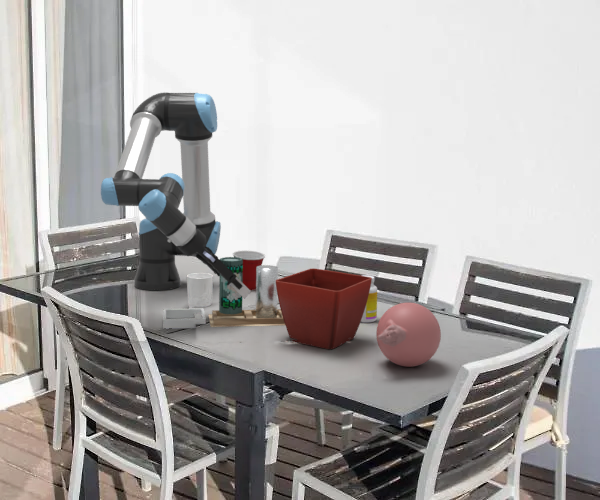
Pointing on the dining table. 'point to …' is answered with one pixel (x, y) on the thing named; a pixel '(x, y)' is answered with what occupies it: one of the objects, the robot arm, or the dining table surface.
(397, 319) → the balloon
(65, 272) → the dining table surface
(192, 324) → the frame
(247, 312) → the wooden tray
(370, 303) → the supplement bottle
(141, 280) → the robot arm
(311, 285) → the plant pot
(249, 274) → the plastic cup
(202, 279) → the white cup
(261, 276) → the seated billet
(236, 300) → the can
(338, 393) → the dining table surface
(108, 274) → the dining table surface
